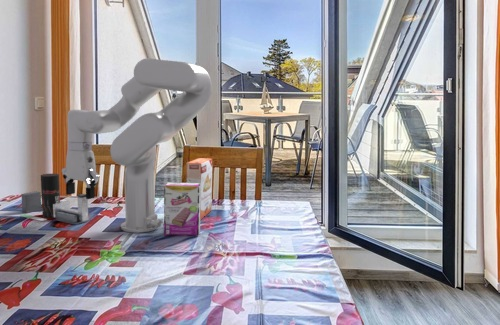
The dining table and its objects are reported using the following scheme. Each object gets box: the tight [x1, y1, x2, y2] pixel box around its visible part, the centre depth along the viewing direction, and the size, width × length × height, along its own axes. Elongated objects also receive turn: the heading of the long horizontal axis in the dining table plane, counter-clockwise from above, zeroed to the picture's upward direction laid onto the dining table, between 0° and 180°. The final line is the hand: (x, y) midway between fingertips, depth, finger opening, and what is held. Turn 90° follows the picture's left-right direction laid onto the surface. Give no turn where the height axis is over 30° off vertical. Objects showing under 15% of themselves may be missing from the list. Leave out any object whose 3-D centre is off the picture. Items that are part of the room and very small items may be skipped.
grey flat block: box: [20, 190, 42, 214], centre depth 156 cm, size 2×6×7 cm, turn 152°
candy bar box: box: [163, 182, 201, 237], centre depth 133 cm, size 11×5×16 cm, turn 92°
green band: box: [20, 213, 36, 220], centre depth 154 cm, size 6×13×1 cm, turn 152°
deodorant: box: [40, 173, 61, 219], centre depth 151 cm, size 6×6×15 cm
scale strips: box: [31, 216, 48, 222], centre depth 151 cm, size 6×13×1 cm, turn 152°
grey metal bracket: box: [55, 212, 92, 226], centre depth 146 cm, size 10×6×3 cm, turn 62°
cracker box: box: [186, 157, 213, 221], centre depth 155 cm, size 14×6×21 cm, turn 168°
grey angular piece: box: [53, 193, 89, 222], centre depth 146 cm, size 13×6×9 cm, turn 62°
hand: (80, 196), depth 143 cm, fingers open, 9 cm apart
